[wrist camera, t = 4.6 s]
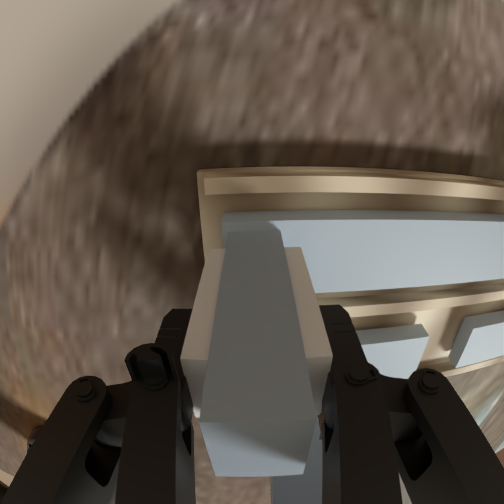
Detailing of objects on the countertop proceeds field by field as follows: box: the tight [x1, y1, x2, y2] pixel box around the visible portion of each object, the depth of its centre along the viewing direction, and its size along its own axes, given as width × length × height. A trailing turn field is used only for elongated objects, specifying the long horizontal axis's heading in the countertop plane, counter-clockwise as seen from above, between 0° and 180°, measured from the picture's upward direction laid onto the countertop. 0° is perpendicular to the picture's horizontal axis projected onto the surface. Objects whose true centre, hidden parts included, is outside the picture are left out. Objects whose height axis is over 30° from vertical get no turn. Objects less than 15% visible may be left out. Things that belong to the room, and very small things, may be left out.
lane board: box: [197, 166, 504, 379], centre depth 19 cm, size 34×16×2 cm, turn 92°
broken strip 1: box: [270, 324, 429, 504], centre depth 15 cm, size 11×4×11 cm, turn 92°
